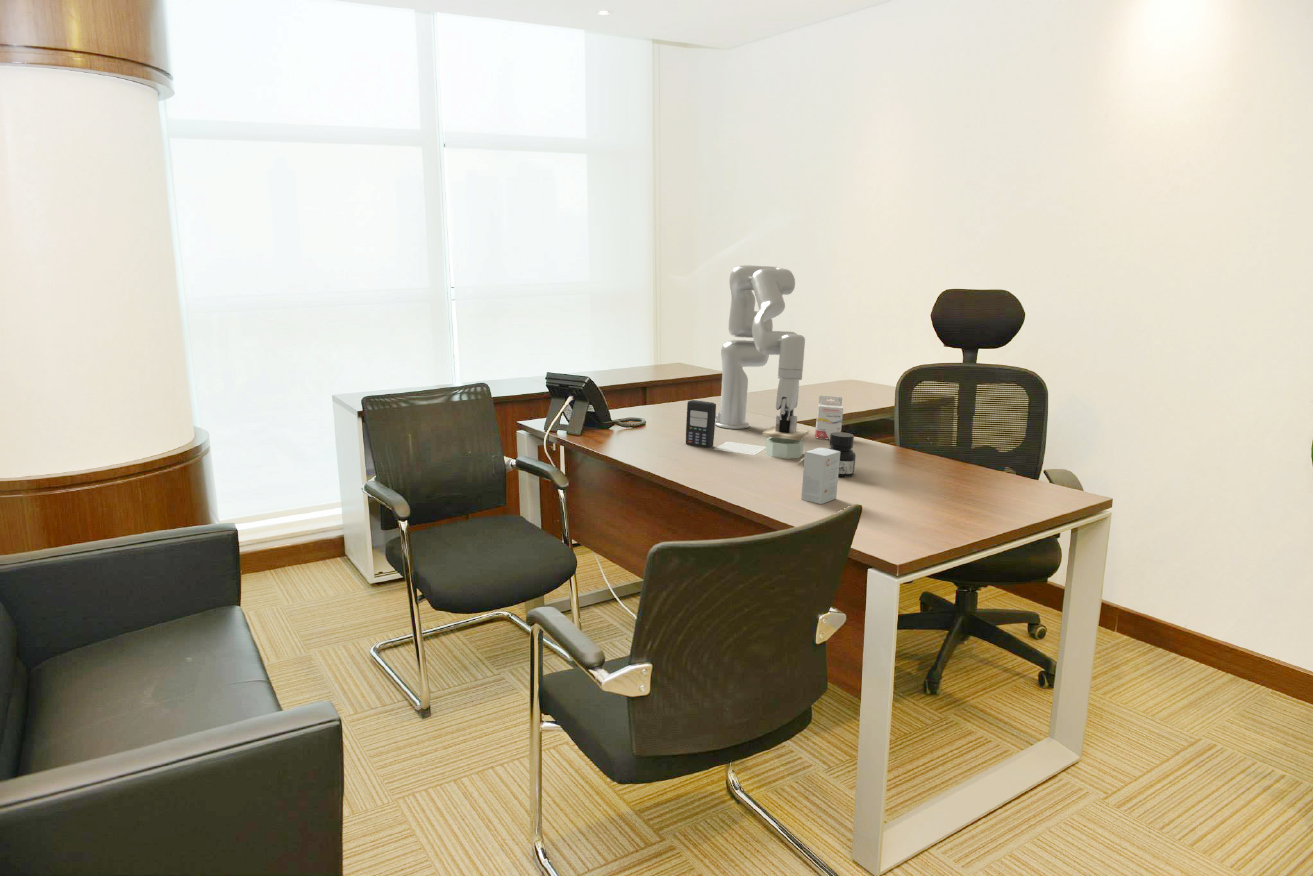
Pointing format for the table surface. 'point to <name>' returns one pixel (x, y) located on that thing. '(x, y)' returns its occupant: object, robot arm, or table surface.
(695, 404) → the card reader
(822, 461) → the small box
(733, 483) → the table surface
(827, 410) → the ink cartridge box
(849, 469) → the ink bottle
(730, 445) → the mat
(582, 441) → the table surface
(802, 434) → the lid
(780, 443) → the bowl
